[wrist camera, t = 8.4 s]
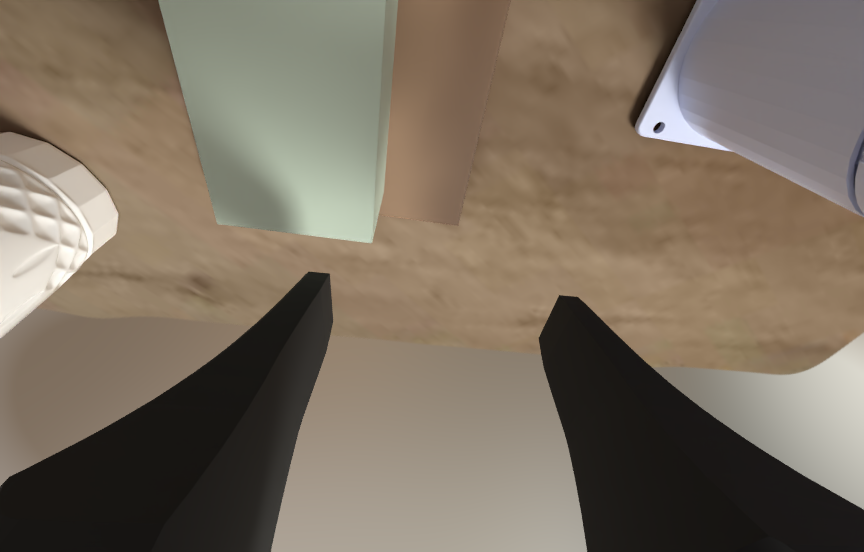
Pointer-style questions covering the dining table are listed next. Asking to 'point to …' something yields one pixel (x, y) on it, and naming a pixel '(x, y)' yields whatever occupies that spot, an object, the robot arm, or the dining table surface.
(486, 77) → the peg base
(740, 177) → the dining table surface
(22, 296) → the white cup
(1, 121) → the dining table surface
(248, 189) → the pale green rectangular block
